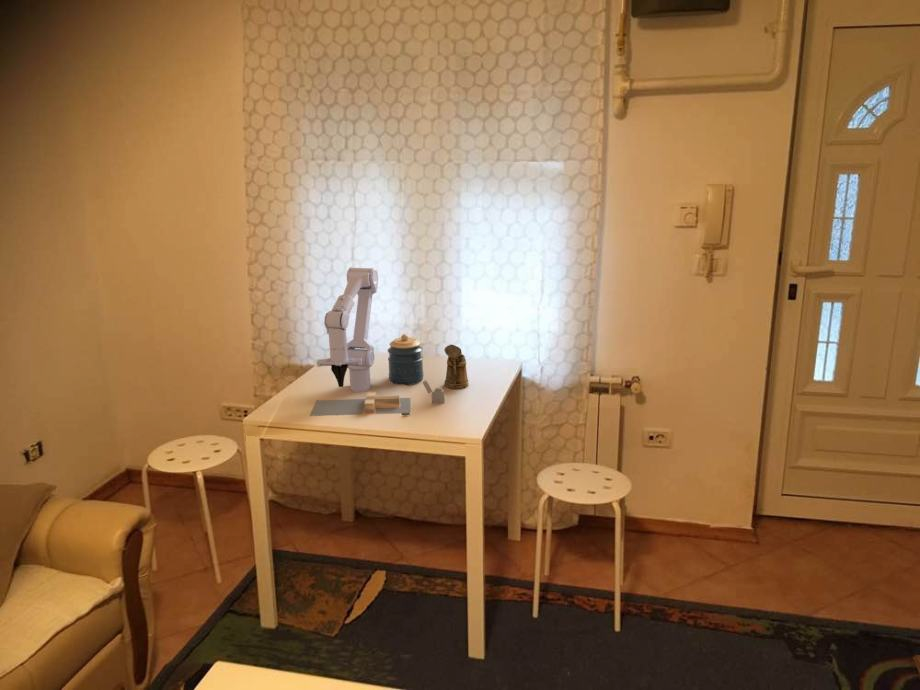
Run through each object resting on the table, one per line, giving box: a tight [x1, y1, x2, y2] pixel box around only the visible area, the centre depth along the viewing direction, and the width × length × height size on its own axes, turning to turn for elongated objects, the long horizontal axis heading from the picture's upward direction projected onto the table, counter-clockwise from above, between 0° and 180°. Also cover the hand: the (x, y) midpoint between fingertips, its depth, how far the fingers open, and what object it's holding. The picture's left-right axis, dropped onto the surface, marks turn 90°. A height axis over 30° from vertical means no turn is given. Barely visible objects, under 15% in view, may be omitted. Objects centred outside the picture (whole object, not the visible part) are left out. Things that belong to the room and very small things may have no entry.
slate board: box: [309, 397, 411, 417], centre depth 230 cm, size 14×32×1 cm, turn 93°
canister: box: [387, 333, 425, 386], centre depth 256 cm, size 13×13×18 cm
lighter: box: [422, 380, 445, 405], centre depth 234 cm, size 7×2×8 cm, turn 94°
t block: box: [364, 391, 400, 413], centre depth 230 cm, size 12×11×3 cm
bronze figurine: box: [444, 344, 469, 390], centre depth 247 cm, size 9×14×18 cm, turn 170°
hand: (341, 385), depth 231 cm, fingers closed
